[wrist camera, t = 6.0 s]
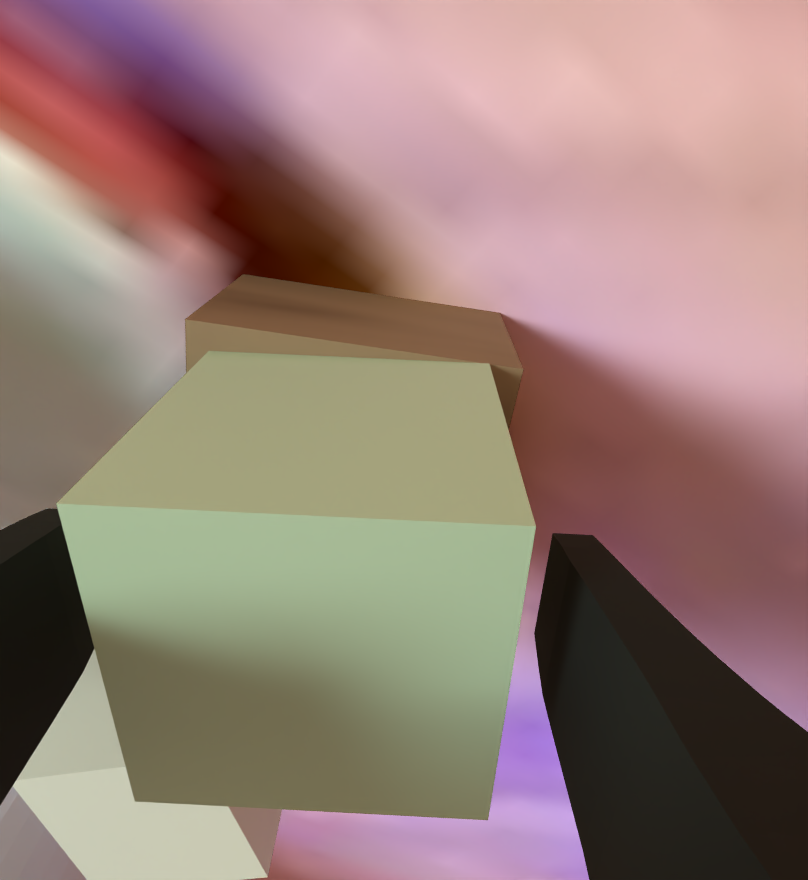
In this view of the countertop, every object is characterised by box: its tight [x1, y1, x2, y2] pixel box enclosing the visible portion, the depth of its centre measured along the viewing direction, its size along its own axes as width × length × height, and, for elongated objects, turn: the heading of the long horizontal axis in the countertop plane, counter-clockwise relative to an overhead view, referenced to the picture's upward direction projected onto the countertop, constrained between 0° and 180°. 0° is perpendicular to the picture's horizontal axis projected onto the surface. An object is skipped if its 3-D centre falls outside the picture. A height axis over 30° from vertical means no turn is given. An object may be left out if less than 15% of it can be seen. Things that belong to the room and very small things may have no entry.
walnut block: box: [185, 274, 523, 430], centre depth 14 cm, size 6×6×4 cm
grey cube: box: [13, 649, 282, 880], centre depth 18 cm, size 5×5×5 cm
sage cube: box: [56, 351, 536, 820], centre depth 10 cm, size 5×5×5 cm
